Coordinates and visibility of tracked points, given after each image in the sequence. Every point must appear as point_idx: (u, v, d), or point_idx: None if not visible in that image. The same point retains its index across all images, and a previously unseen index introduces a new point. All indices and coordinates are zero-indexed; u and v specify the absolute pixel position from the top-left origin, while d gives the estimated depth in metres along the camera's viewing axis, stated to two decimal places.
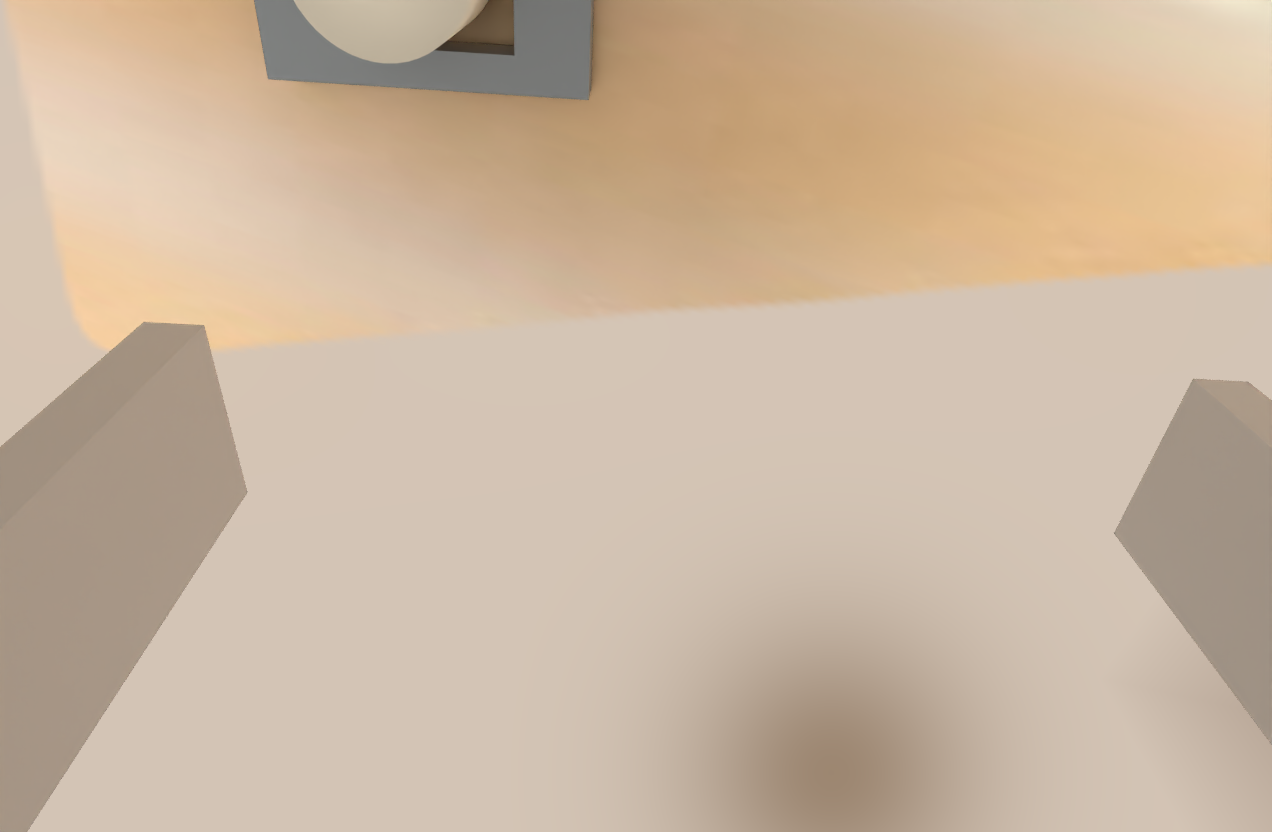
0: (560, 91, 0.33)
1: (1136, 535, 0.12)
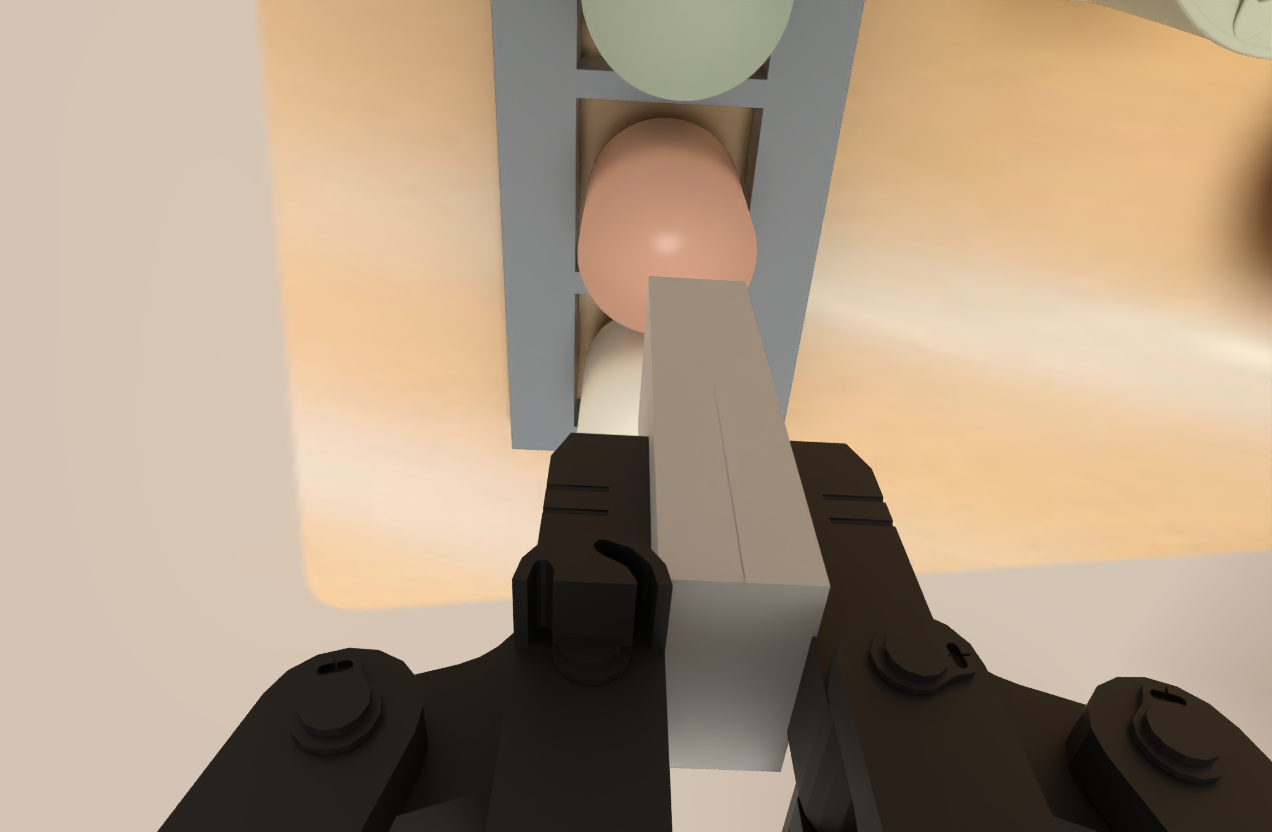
0: None
1: None
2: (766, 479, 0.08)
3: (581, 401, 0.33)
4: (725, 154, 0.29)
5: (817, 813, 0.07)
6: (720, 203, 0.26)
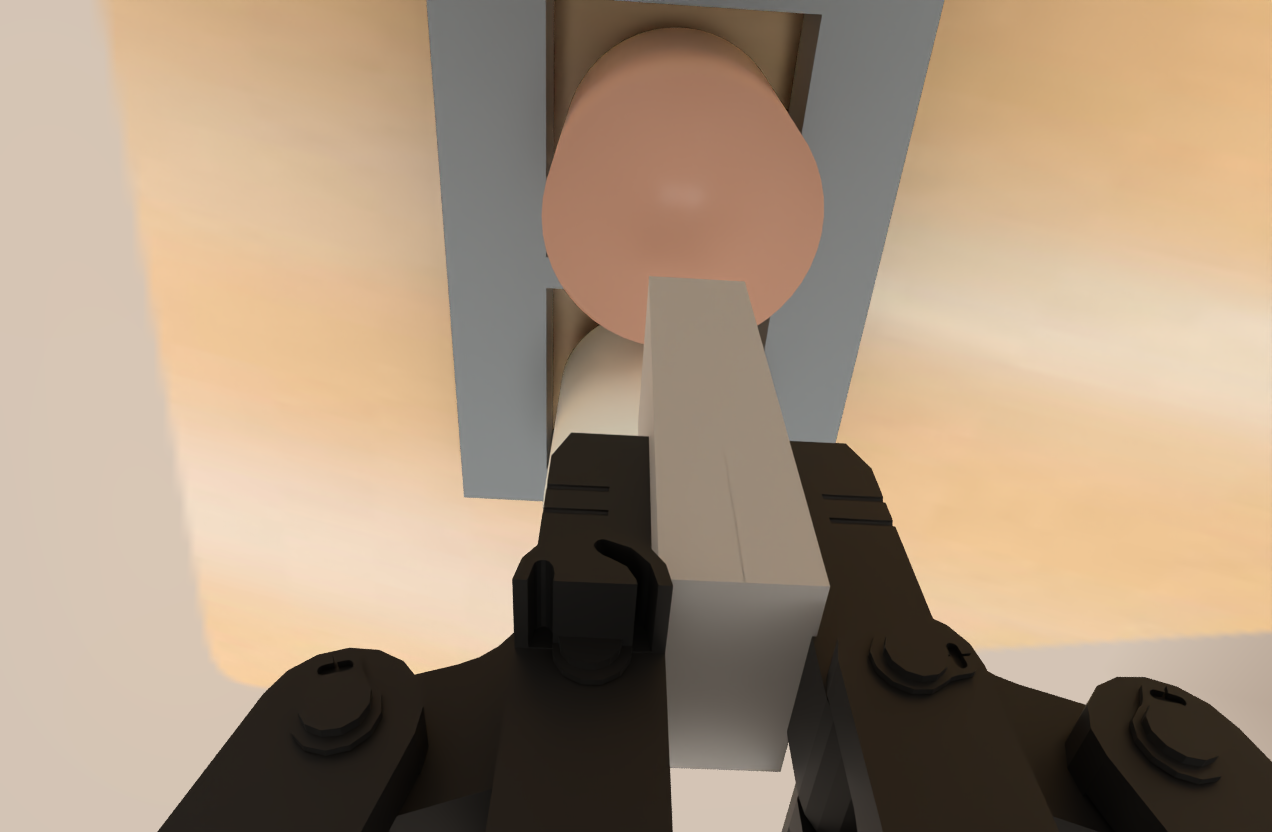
0: None
1: None
2: (766, 479, 0.08)
3: (553, 441, 0.23)
4: (766, 79, 0.20)
5: (817, 813, 0.07)
6: (769, 138, 0.16)
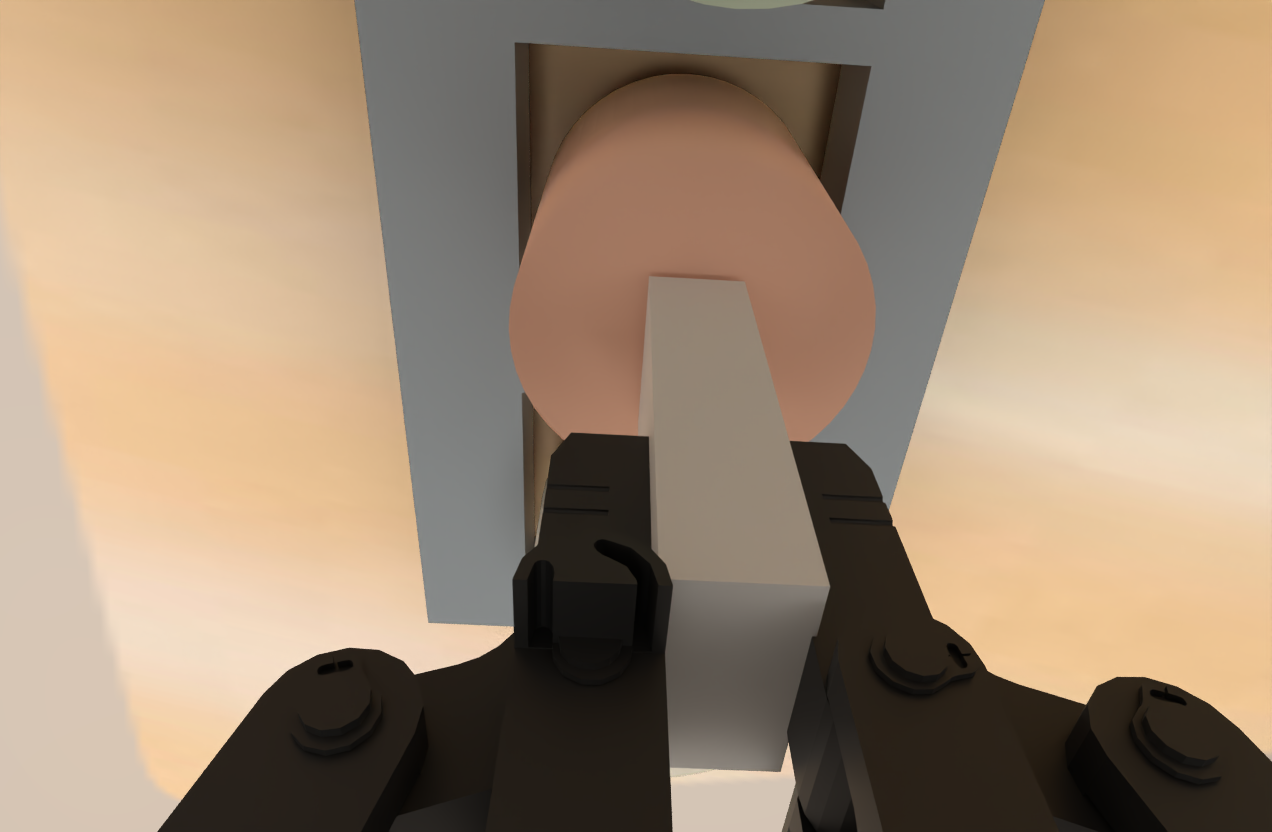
0: None
1: None
2: (766, 479, 0.08)
3: None
4: (794, 140, 0.16)
5: (817, 813, 0.07)
6: (807, 233, 0.12)
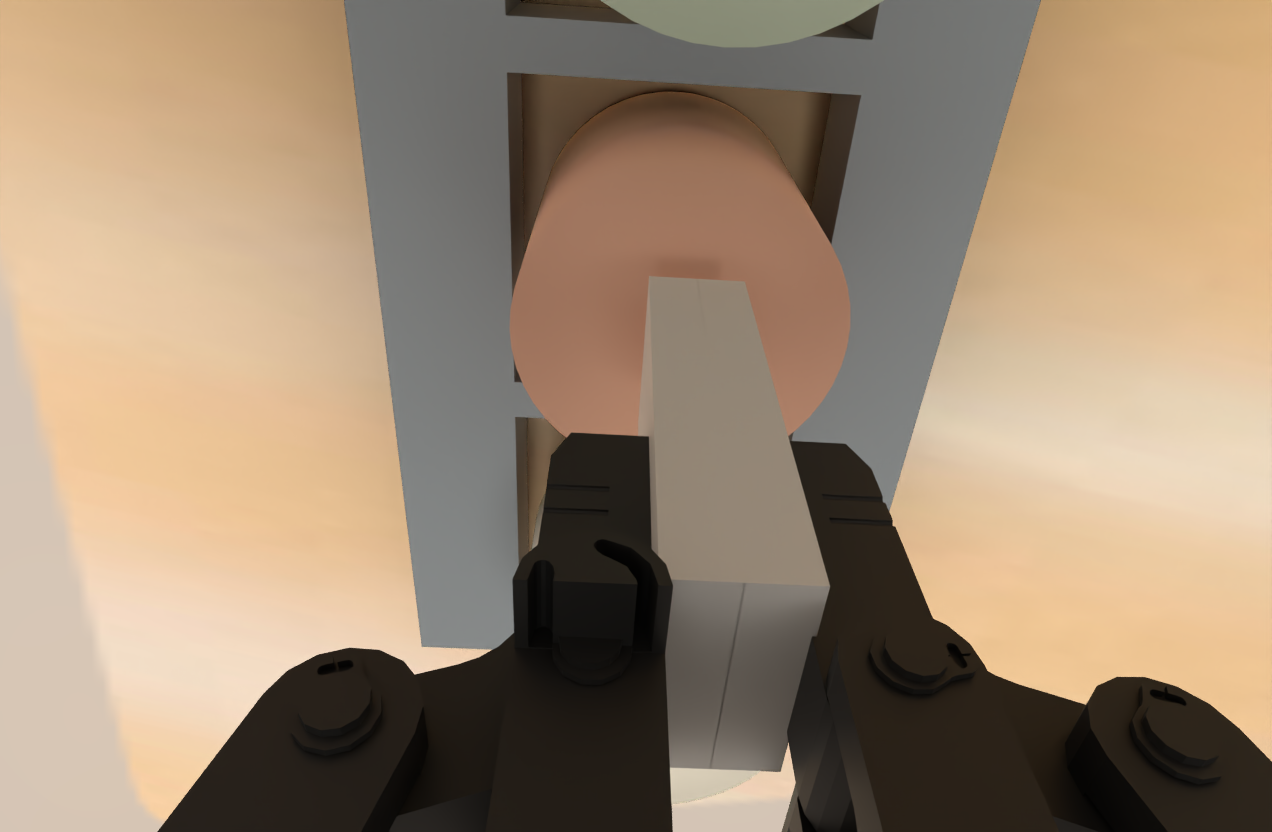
0: None
1: None
2: (766, 479, 0.08)
3: None
4: (776, 153, 0.17)
5: (817, 813, 0.07)
6: (785, 238, 0.13)
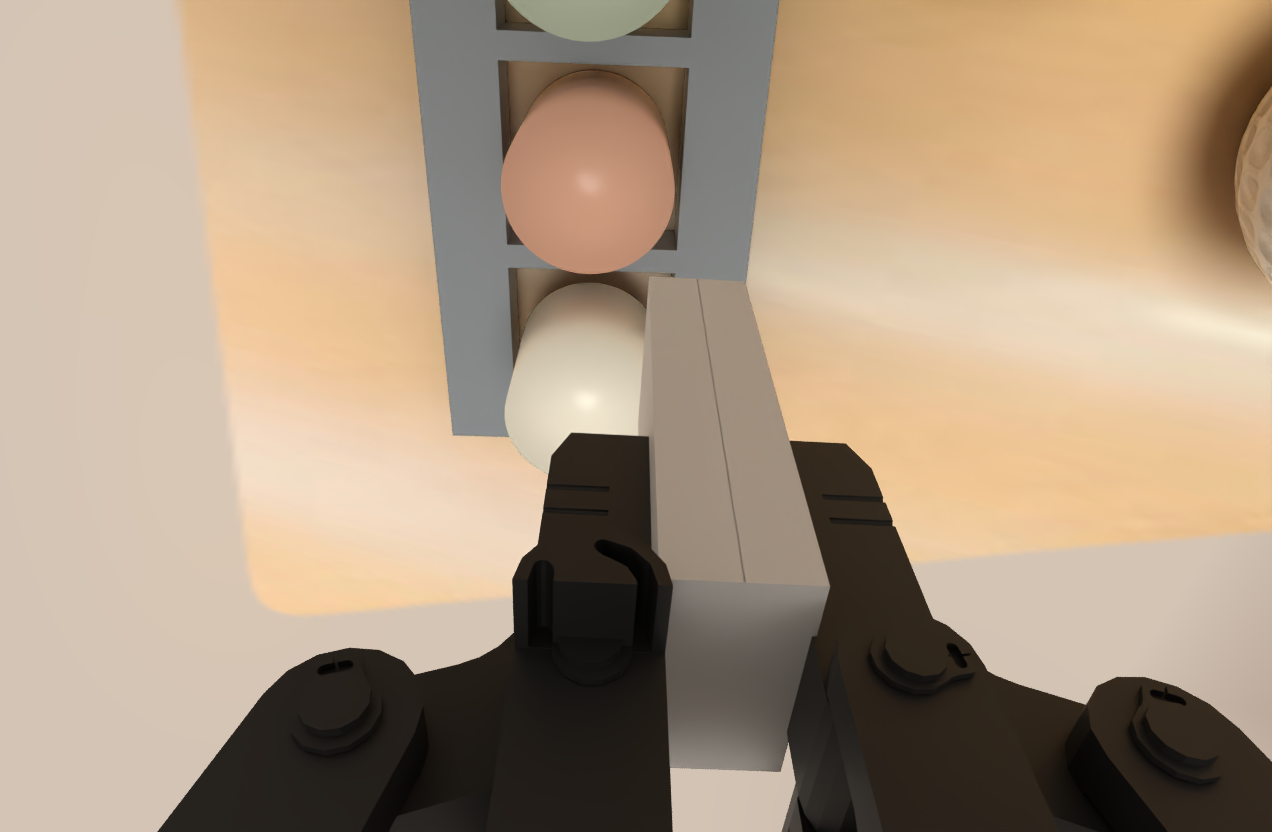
0: None
1: None
2: (766, 479, 0.08)
3: None
4: (649, 102, 0.31)
5: (817, 813, 0.07)
6: (635, 136, 0.27)
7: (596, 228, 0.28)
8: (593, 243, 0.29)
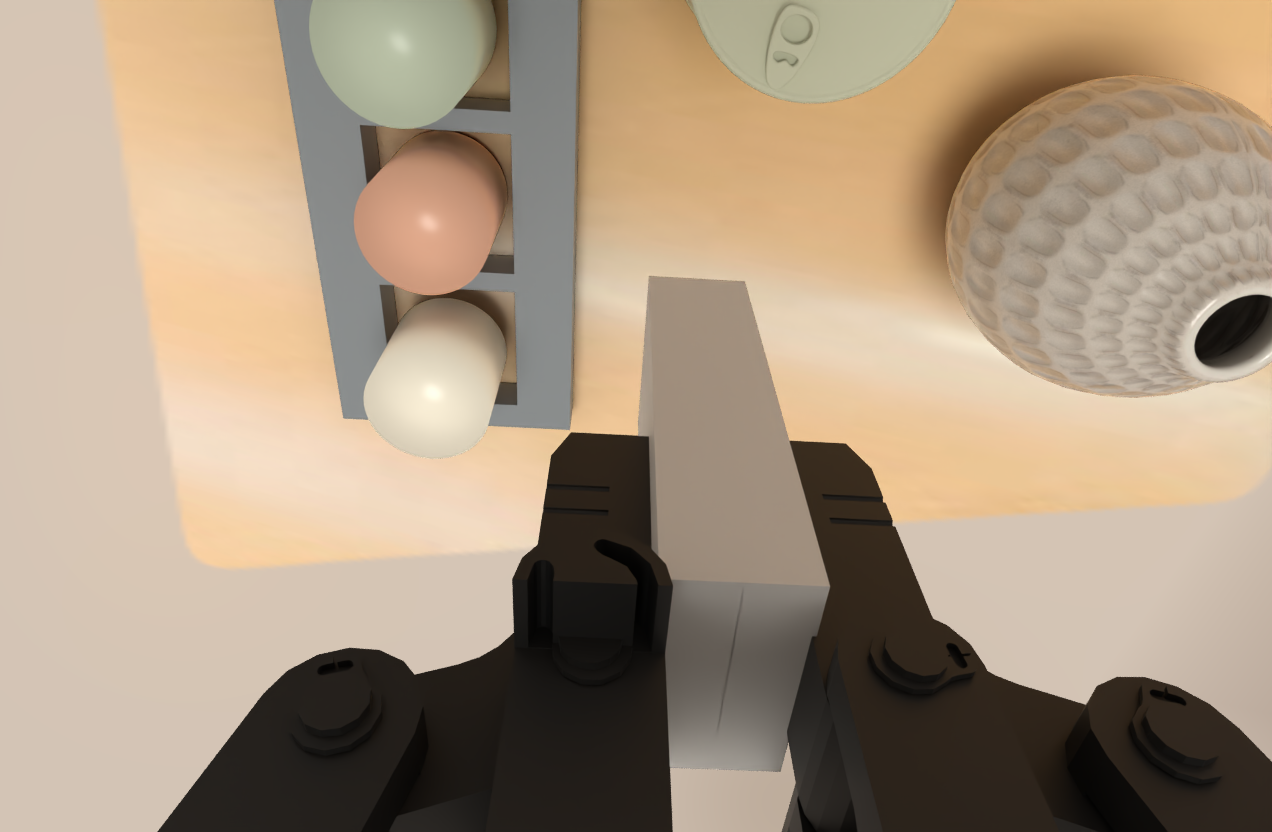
0: (549, 424, 0.46)
1: None
2: (766, 479, 0.08)
3: None
4: (484, 158, 0.39)
5: (817, 813, 0.07)
6: (455, 192, 0.35)
7: (431, 260, 0.36)
8: (430, 271, 0.37)
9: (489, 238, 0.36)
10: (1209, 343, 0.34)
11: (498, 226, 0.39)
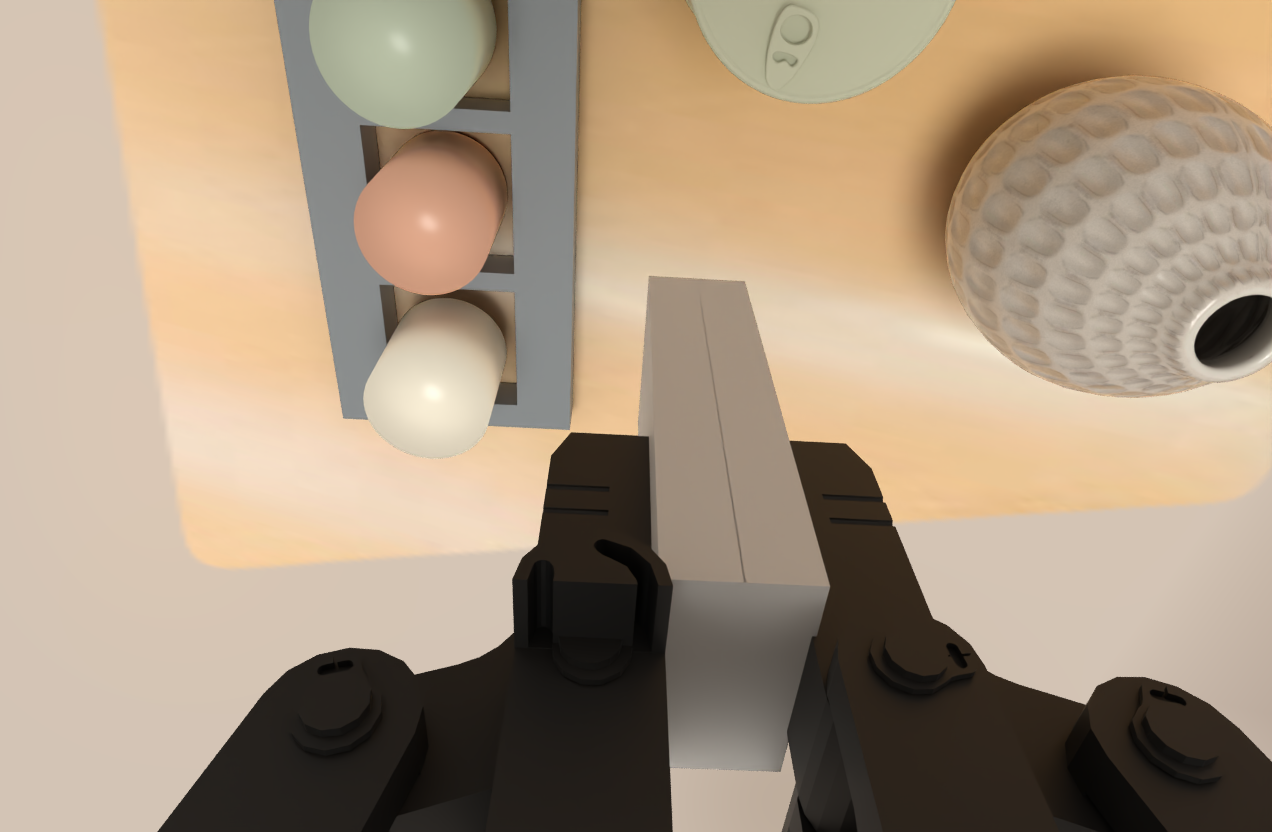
0: (549, 424, 0.46)
1: None
2: (766, 479, 0.08)
3: None
4: (484, 158, 0.39)
5: (817, 813, 0.07)
6: (455, 192, 0.35)
7: (430, 260, 0.36)
8: (430, 271, 0.37)
9: (489, 238, 0.36)
10: (1209, 343, 0.34)
11: (498, 226, 0.39)
